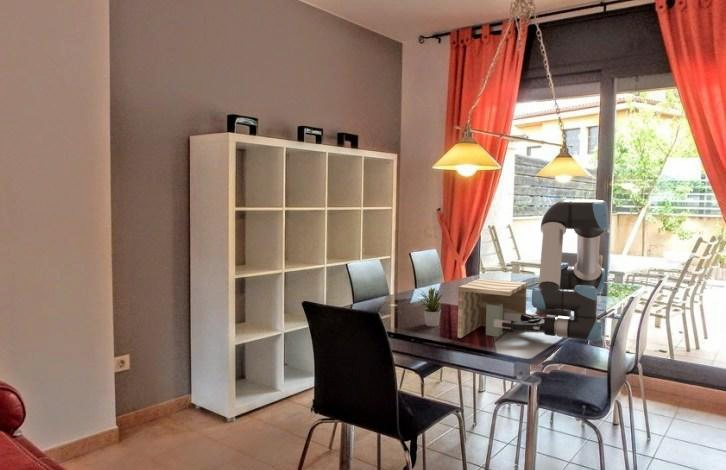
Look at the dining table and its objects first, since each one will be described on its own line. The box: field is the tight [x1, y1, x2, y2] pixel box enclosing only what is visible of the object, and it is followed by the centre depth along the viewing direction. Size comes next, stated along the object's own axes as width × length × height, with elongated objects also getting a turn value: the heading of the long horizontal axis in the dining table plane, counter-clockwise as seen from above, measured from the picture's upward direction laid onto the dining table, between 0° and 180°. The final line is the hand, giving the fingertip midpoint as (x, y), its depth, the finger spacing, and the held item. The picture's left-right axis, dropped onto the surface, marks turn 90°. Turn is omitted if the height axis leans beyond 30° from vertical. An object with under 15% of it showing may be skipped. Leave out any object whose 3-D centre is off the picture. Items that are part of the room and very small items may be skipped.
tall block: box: [485, 302, 503, 337], centre depth 209 cm, size 5×5×12 cm
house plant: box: [417, 286, 447, 327], centre depth 225 cm, size 14×14×16 cm
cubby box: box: [457, 278, 528, 339], centre depth 210 cm, size 24×20×20 cm
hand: (499, 319), depth 208 cm, fingers open, 13 cm apart
